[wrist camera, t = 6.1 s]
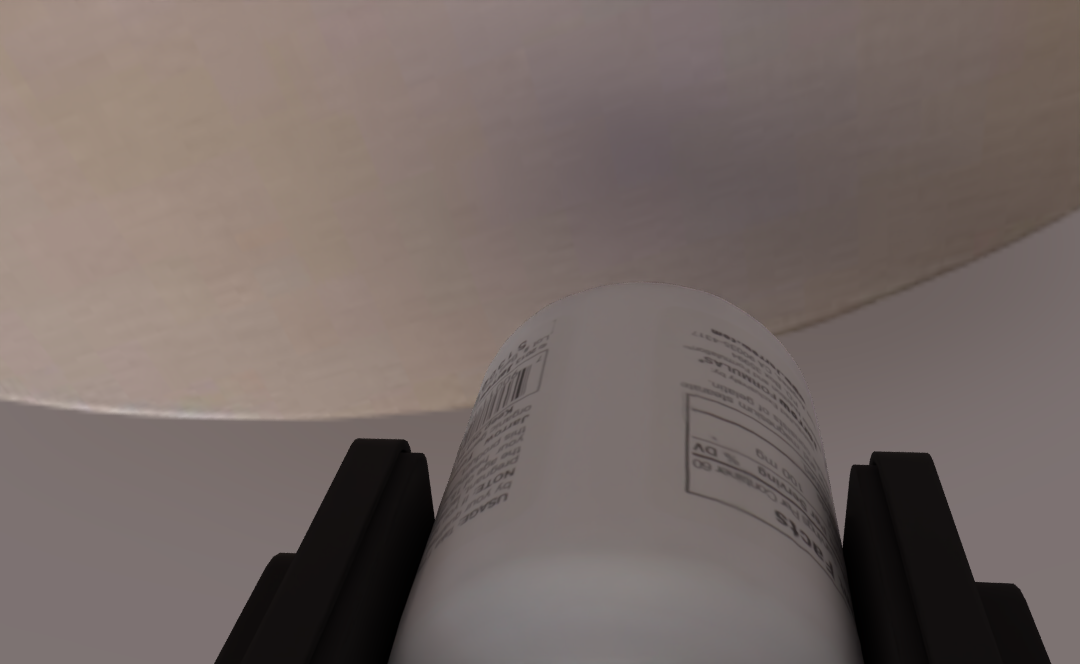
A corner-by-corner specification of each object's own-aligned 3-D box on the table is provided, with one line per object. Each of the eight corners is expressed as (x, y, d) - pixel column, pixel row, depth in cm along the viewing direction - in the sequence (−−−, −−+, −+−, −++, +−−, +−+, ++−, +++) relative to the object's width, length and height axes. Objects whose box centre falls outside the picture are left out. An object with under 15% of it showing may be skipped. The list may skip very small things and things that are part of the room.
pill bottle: (512, 560, 15) (364, 1201, 8) (449, 289, 13) (188, 845, 6) (823, 545, 14) (939, 1249, 7) (807, 254, 12) (945, 853, 5)
